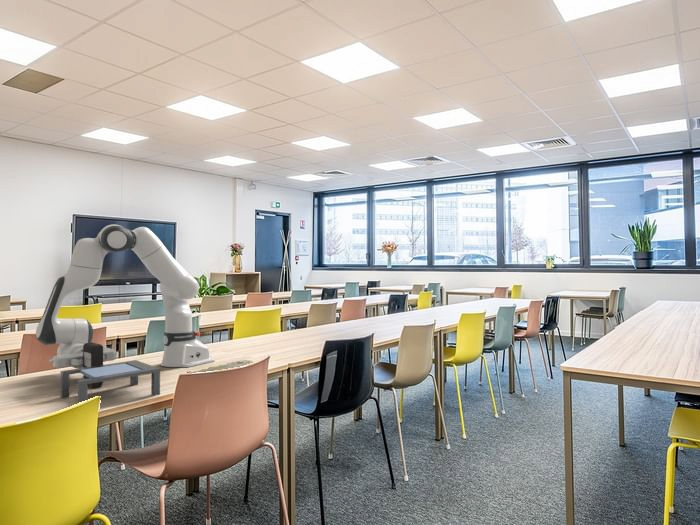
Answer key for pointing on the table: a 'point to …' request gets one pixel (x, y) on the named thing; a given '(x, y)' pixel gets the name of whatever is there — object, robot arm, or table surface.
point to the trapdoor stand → (111, 378)
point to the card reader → (92, 359)
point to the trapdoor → (108, 370)
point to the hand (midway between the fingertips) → (91, 361)
